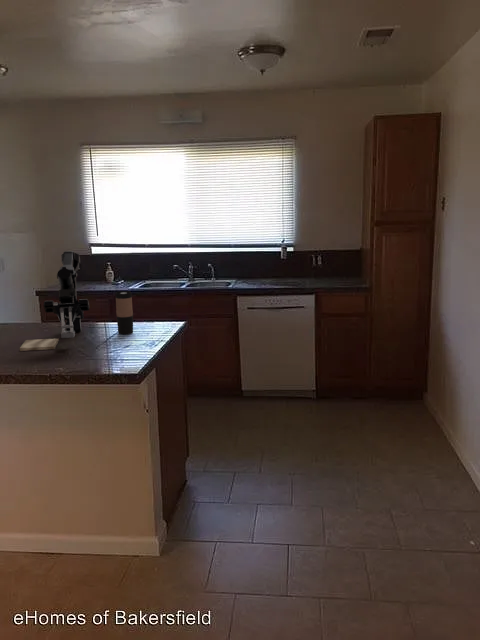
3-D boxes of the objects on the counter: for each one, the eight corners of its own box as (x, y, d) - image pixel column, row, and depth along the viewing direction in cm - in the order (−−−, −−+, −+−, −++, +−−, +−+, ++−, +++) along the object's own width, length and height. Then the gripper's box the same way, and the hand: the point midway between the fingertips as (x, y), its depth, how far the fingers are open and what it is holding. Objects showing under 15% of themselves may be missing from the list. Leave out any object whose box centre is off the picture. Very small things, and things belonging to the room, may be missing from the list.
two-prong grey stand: (74, 334, 233) (72, 305, 230) (73, 337, 229) (71, 308, 226) (62, 335, 232) (60, 306, 229) (61, 338, 227) (58, 308, 225)
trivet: (58, 341, 242) (58, 338, 241) (54, 349, 228) (53, 346, 228) (26, 342, 239) (26, 340, 239) (19, 350, 226) (19, 348, 225)
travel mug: (114, 333, 254) (111, 292, 250) (124, 330, 261) (122, 290, 257) (126, 335, 251) (124, 294, 246) (136, 332, 257) (134, 291, 253)
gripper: (42, 282, 227) (40, 312, 219) (87, 280, 231) (87, 310, 223) (45, 297, 236) (44, 326, 228) (89, 295, 240) (89, 324, 232)
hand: (66, 321), depth 227 cm, fingers closed on two-prong grey stand, 4 cm apart
